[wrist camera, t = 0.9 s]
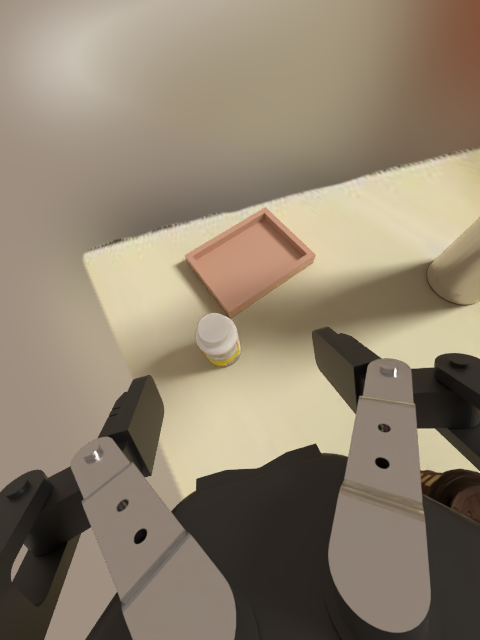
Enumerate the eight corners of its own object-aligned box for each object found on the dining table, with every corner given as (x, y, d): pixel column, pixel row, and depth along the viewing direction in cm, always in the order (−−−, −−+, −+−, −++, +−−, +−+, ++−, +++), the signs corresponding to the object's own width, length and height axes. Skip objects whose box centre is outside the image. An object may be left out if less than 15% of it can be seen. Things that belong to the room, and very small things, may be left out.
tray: (265, 216, 51) (265, 207, 49) (313, 262, 46) (315, 254, 44) (187, 263, 48) (184, 255, 45) (230, 318, 43) (228, 312, 40)
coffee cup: (433, 559, 29) (554, 649, 17) (361, 511, 31) (425, 561, 19) (453, 482, 32) (570, 514, 20) (386, 443, 34) (455, 451, 22)
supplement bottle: (211, 331, 42) (197, 302, 32) (244, 337, 41) (240, 310, 32) (202, 364, 40) (184, 344, 30) (236, 371, 39) (229, 353, 30)
